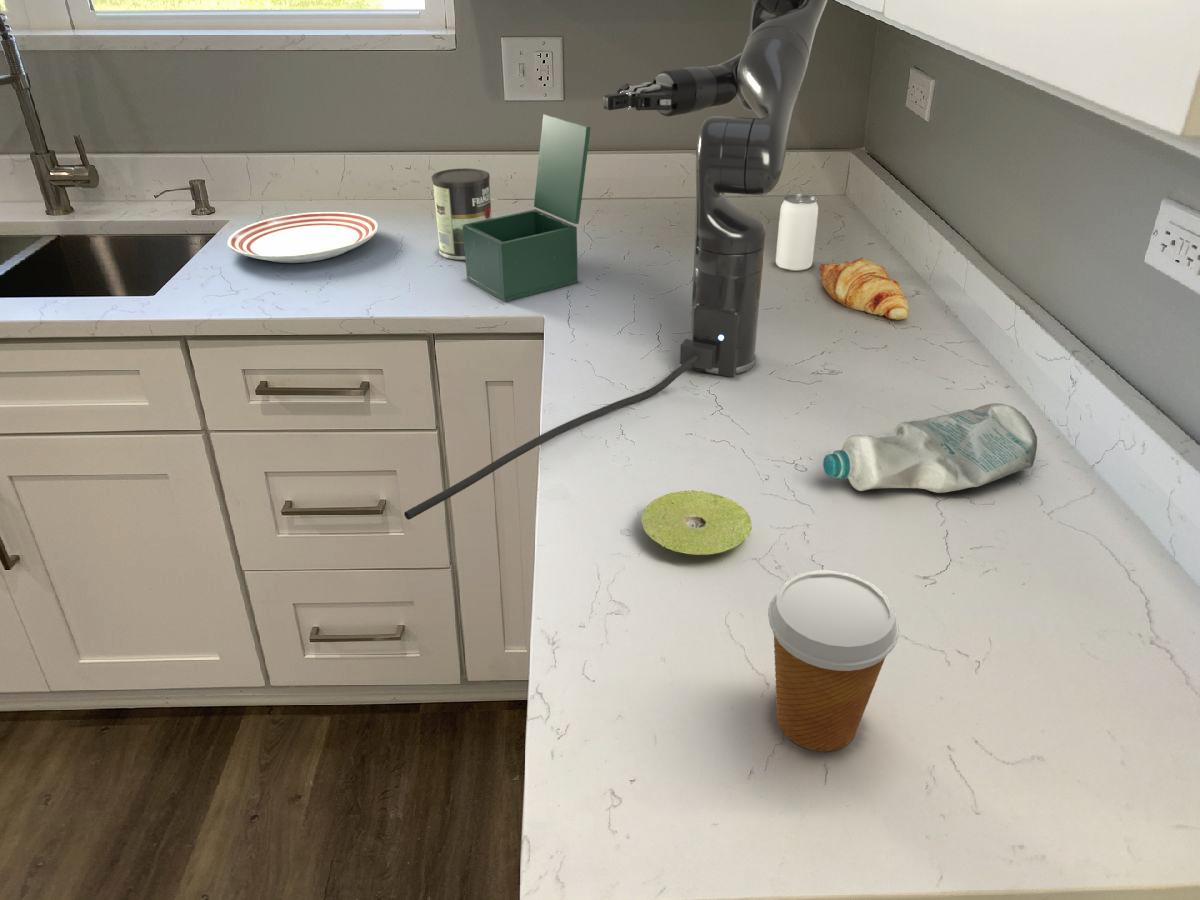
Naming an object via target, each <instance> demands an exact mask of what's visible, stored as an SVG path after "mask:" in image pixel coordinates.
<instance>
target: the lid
mask: <svg viewBox="0 0 1200 900" xmlns="http://www.w3.org/2000/svg"><path fill="white" fill-rule="evenodd" d="M542 115H543V116H542V123H541V133H540V134H541V135H540V143H539V152H538V153H539V154H538V164H537V173H536V182H535V192H534V202H533V207H534V208H537V210H540V211H542V212H544V213H547V214H549V215H553V216H554V217H556V218H559V219H561V220H563V221H564V220H565V221H566V222H568V223H570V224H574V225H579V224H580V216H581V209H582V199H583V192H584V185H585V184H584V183H585V177H586V168H587V161H588V160H587V159H588V153H589V144H590V136H591V129H592V128H591V126H589V125H588V126H587V125H584V124H581V123H578V122H575V121H570V120H567V119H563V118H560V117H557V116H554V115H551V114H545V113H544V114H542Z"/></svg>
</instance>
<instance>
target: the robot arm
mask: <svg viewBox="0 0 1200 900" xmlns="http://www.w3.org/2000/svg"><path fill="white" fill-rule="evenodd" d="M827 3H828V0H751V8H750V13H749V23H748V24H749V25H748V26H749V27H748V33H747V37H746V40H745V42H744V45H743V48H742V51H741V52H740V53H738V54H737V55H736V56H735V55H734V56H733V57H732V58H730V59H728V60H726V61H724V62H721V63H718V64H715V65H708V66H688V67H681V68H674V69H668V70H667V69H666V70H662V71H660V72H659V73H657V75H656V76H655V77H654V79H653V81H652V82H650V81H647V82H641V84H636V85H631V84H630V83H625V84H622V85H621V86H620V87H618V88H616V93H609V94H605V95H603V97H602V108H603V109H604V110H607V111H615V110H621V109H627V110H632V109H635V110H636V111H657V112H658V113H659V114H660V115H662V116H664V117H674V116H679V115H686V114H692V113H697V112H700V111H703V110H706V109H713V108H718V107H723V106H724V107H725V106H726V105H729V104H731V103H732V102H733V101H734V100H735V98H736V96H737V98H738V100H739V103H740V104H741V106H742V107H743V108H744V109H745V110H747V111H750V112H753V113H754V114H755V115H756V116H757V117H756V118H755V117H744V116H742V117H741V116H728V115H727V116H723V115H714V116H713V115H712V116H711V115H710V116H709V117H707V118H706V119H704V121H703V122H702V124H701V126H700V128H699V131H698V134H697V139H696V147H695V221H694V223H695V224H694V226H695V227H694V228H695V229H694V252H693V253H694V254H693V269H692V288H691V290H692V291H691V309H690V313H691V314H690V327H689V328H690V329H689V330H690V331H689V333H690V334H689V339H688V338H685V339H684V340H683V342H681V344H680V347H679V349H680V351H679V366H678V367H676V369H674V370H673V371H672V372H671V373H669V374H668V375H667V376H666V377H665V378H664V379H663V380H661V381H660V382H659V383H657V384H656V385H653V386H652V387H651V388H648V389H647V390H644V391H642V392H640V393H637V394H634V395H631V396H629V397H626V398H622V399H620V400H616V401H614V402H612V403H610V404H608V405H605V406H601V407H600V408H598V409H595V410H592V411H590V412H588V413H586V414H583V415H580V416H578V417H576V418H573V419H571V420H569V421H567V422H564V423H562V424H560V425H558V426H556V427H554V428H552V429H549V430H548V431H546V432H544V433H542V434H540V435H539V436H536V437H534V438H533V439H531V440H529V441H527V442H525V443H523V444H522V445H520V446H519V447H517V448H515V449H513V450H511V451H509V452H508V453H506V454H504V455H502V456H501V457H499V458H498V459H496V460H494V461H492V462H491V463H489V464H487V465H486V466H484V467H483V468H481V469H479V470H478V471H476V472H474V473H472V474H471V475H469V476H468V477H465V478H463V479H462V480H460V481H458V482H457V483H455V484H454V485H451V486H450V487H448V488H446V489H444V490H442V491H441V492H439V493H437V494H435V495H433V496H432V497H429V498H428V499H426V500H424V501H423V502H420V503H418V504H417V505H415V506H412V507H411V508H409V509H408V510H406V511H404V513H403V514H404V517H405V519H406V520H408V521H410V520H412V519H413V518H415V517H416V516H418V515H420V514H422V513H424V512H426V511H428V510H430V509H431V508H433V507H435V506H437V505H438V504H440V503H442V502H445V500H448V499H450V498H451V497H453V496H455V495H457V494H458V493H460V492H462V491H464V490H466V489H467V488H469V487H470V486H472V485H474V484H475V483H477V482H479V481H481V480H482V479H484V478H486V477H487V476H489V475H490V474H493V472H495V471H497V470H498V469H500V468H502V467H504V466H505V465H507V464H509V463H511V462H512V461H513V460H515V459H517V458H518V457H520V456H522V455H524V454H525V453H527V452H529V451H531V450H533V449H534V448H537V447H538V446H540V445H542V444H543V443H546V442H547V441H549V440H551V439H554V438H555V437H557V436H559V435H561V434H564V433H565V432H567V431H570V430H572V429H574V428H576V427H578V426H581V425H583V424H585V423H588V422H590V421H593V420H595V419H598V418H601V417H602V416H604V415H607V414H609V413H612V412H614V411H617V410H619V409H621V408H624V407H627V406H630V405H632V404H636V403H638V402H641V401H644V400H646V399H648V398H651V397H653V396H654V395H656V394H658V393H660V392H661V391H663V390H664V389H666V388H667V387H668V386H670V384H672V383H673V382H674V381H675V380H676V379H677V378H679V376H681V375H682V374H683V373H684V372H686V371H687V370H689V368H690V370H692V371H696V372H702V373H708V374H712V375H718V376H723V377H728V378H733V377H735V376H736V375H737V374H742V373H745V372H747V371H749V370H751V369H752V368H753V367H754V365H756V347H757V333H758V322H759V313H760V312H759V309H760V299H761V287H762V278H763V277H762V276H763V267H764V255H765V246H766V235H767V234H766V225H765V224H764V222H763V221H762V220H761V219H759V218H758V217H756V216H755V215H753V214H751V213H749V212H746V211H744V210H742V209H741V208H739V207H737V206H736V205H734V204H733V203H732V202H731V201H730V200H729V199H728V198H727V196H726V194H734V195H745V196H746V195H747V196H762V195H767V194H770V193H771V192H773V191H774V190H775V188H776V186H777V185H778V182H779V181H780V178H781V176H782V172H783V168H784V165H785V160H786V159H785V158H786V154H787V149H788V143H789V137H790V132H791V125H792V121H793V115H794V111H795V108H796V105H797V101H798V99H799V96H800V92H801V90H802V86H803V84H804V81H805V77H806V73H807V70H808V66H809V63H810V58H811V52H812V49H813V44H814V39H815V35H816V32H817V29H818V26H819V24H820V22H821V18H822V16H823V13H824V11H825V8H826V6H827Z"/></svg>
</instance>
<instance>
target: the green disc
mask: <svg viewBox="0 0 1200 900" xmlns="http://www.w3.org/2000/svg"><path fill="white" fill-rule="evenodd" d="M641 524H642V528H643V530H644V532H645V534H647V536H648V537H649V538H650V539H651V540H653V541H654V542H655V543H657V544H658V545H660V546H661V547H663V548H666V549H668V550H671V551H673V552H675V553H681V554H683V553H684V554H686V555H692V556H695V555H696V556H697V555H698V556H704V555H714V554H720V553H724V552H727V551H731V550H733V549H735V548H737V547H738V546H739V545H741V544H742V543H743V542H745V540H747V538H748V537H749V536H750V534H751V530H752V519H751V516H750V515H749V513H748V512H747V511H746V509H745V508H744V507H742V506H741V505H740V504H739V503H737V502H736V501H734V500H733V499H730V498H729V497H726V496H723V495H720V494H716V493H713V492H709V491H704V490H681V491H676V492H670V493H666V494H663V495H661V496H659V497H658V498H657V497H656V498H655V499H654V500H652V501H651V502H650V503H649V504H647V506H646V507H645V508H644V510H643V512H642V516H641Z"/></svg>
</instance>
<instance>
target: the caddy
mask: <svg viewBox="0 0 1200 900" xmlns="http://www.w3.org/2000/svg"><path fill="white" fill-rule="evenodd" d="M463 237H464V249H465V260H464V261H465V270H466V271H465V272H466V281H468V282H469V283H471V284H473V285H474V286H476V287H478V288H480V289H481V290H483V291H485V292H486V293H488V294H490V295H491V296H493V297H495V298H497V299H499V300H501V301H502V302H504V303H507V302H510V301H514V300H518V299H522V298H525V297H529V296H533V295H538V294H540V293H541V294H542V293H545V292H548V291H552V290H555V289H559V288H563V287H567V286H570V285H575V284H578V282H579V280H578V275H579V274H578V273H579V272H578V228H577V226H576V225H573V224H572V223H570V222H567V221H564V220H563V219H560V218H558V217H556V216H552V215H551V214H549V213H546V212H544V211H542V210H539V209H531V210H526V211H520V212H517V213H511V214H506V215H502V216H497V217H492V219H487V220H483V221H478V222H473V223H468V224H464V225H463Z"/></svg>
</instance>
